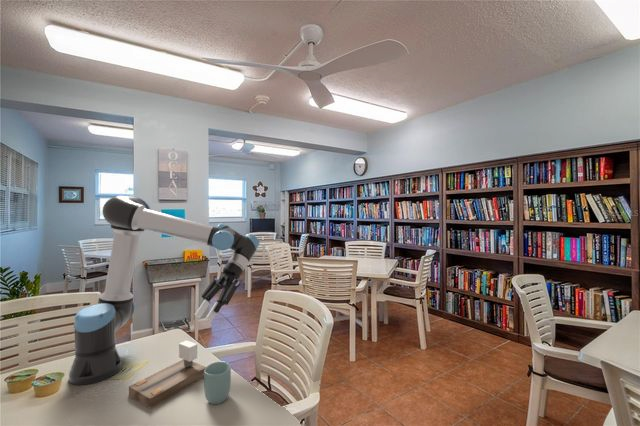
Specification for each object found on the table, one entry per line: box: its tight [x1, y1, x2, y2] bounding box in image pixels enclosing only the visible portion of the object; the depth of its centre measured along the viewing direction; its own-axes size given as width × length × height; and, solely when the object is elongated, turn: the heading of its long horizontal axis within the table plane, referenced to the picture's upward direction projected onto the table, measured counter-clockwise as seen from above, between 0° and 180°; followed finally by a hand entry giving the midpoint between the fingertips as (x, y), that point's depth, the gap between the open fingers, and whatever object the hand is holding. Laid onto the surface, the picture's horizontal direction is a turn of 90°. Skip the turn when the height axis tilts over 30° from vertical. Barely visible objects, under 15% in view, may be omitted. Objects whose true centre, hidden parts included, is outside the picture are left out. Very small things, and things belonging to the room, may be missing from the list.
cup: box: [203, 361, 232, 405], centre depth 92 cm, size 8×8×10 cm
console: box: [128, 359, 207, 409], centre depth 100 cm, size 12×20×3 cm, turn 149°
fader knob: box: [178, 339, 198, 367], centre depth 106 cm, size 6×3×8 cm, turn 59°
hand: (202, 318), depth 111 cm, fingers open, 6 cm apart
